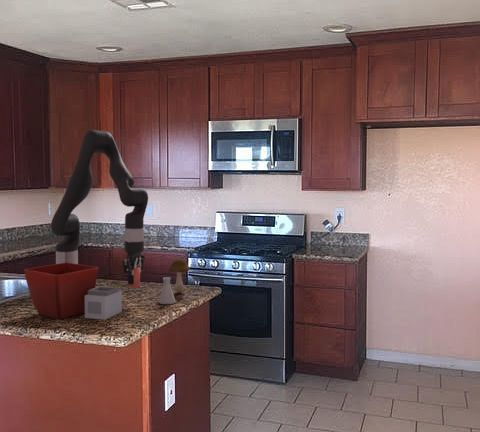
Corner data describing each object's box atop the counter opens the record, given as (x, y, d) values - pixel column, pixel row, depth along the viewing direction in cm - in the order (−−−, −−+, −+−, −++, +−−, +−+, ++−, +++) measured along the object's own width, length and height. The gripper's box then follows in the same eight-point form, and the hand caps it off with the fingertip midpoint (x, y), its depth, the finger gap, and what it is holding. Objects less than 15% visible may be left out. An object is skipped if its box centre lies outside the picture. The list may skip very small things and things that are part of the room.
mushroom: (188, 289, 253) (188, 256, 252) (191, 295, 242) (191, 260, 241) (167, 290, 251) (167, 256, 250) (169, 295, 240) (169, 260, 239)
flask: (155, 301, 230) (155, 277, 229) (173, 300, 232) (173, 276, 232) (159, 305, 223) (159, 280, 222) (178, 304, 226) (177, 279, 225)
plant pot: (57, 323, 196) (56, 274, 195) (23, 315, 207) (22, 268, 206) (100, 312, 212) (99, 267, 210) (67, 305, 223) (66, 262, 221)
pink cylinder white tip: (125, 287, 221) (125, 265, 221) (131, 284, 226) (131, 263, 225) (136, 288, 220) (136, 266, 219) (141, 285, 224) (142, 264, 224)
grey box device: (84, 318, 203) (84, 291, 202) (102, 310, 215) (102, 285, 214) (104, 319, 201) (103, 293, 200) (121, 311, 213) (121, 286, 212)
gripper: (134, 237, 229) (134, 279, 231) (116, 241, 215) (115, 286, 217) (151, 238, 227) (150, 280, 228) (134, 242, 213) (133, 287, 215)
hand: (133, 283), depth 223 cm, fingers closed on pink cylinder white tip, 4 cm apart
